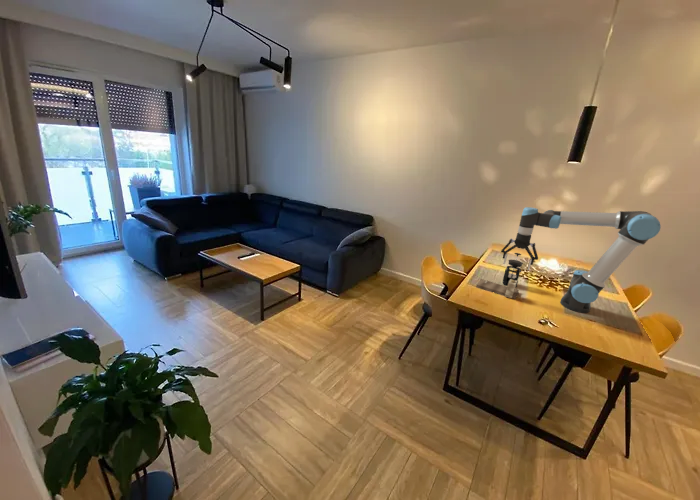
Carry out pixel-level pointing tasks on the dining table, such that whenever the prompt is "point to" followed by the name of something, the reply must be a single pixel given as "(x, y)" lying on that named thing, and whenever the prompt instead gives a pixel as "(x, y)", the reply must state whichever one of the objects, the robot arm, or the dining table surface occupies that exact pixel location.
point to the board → (494, 288)
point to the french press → (509, 276)
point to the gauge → (510, 288)
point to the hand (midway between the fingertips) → (516, 266)
